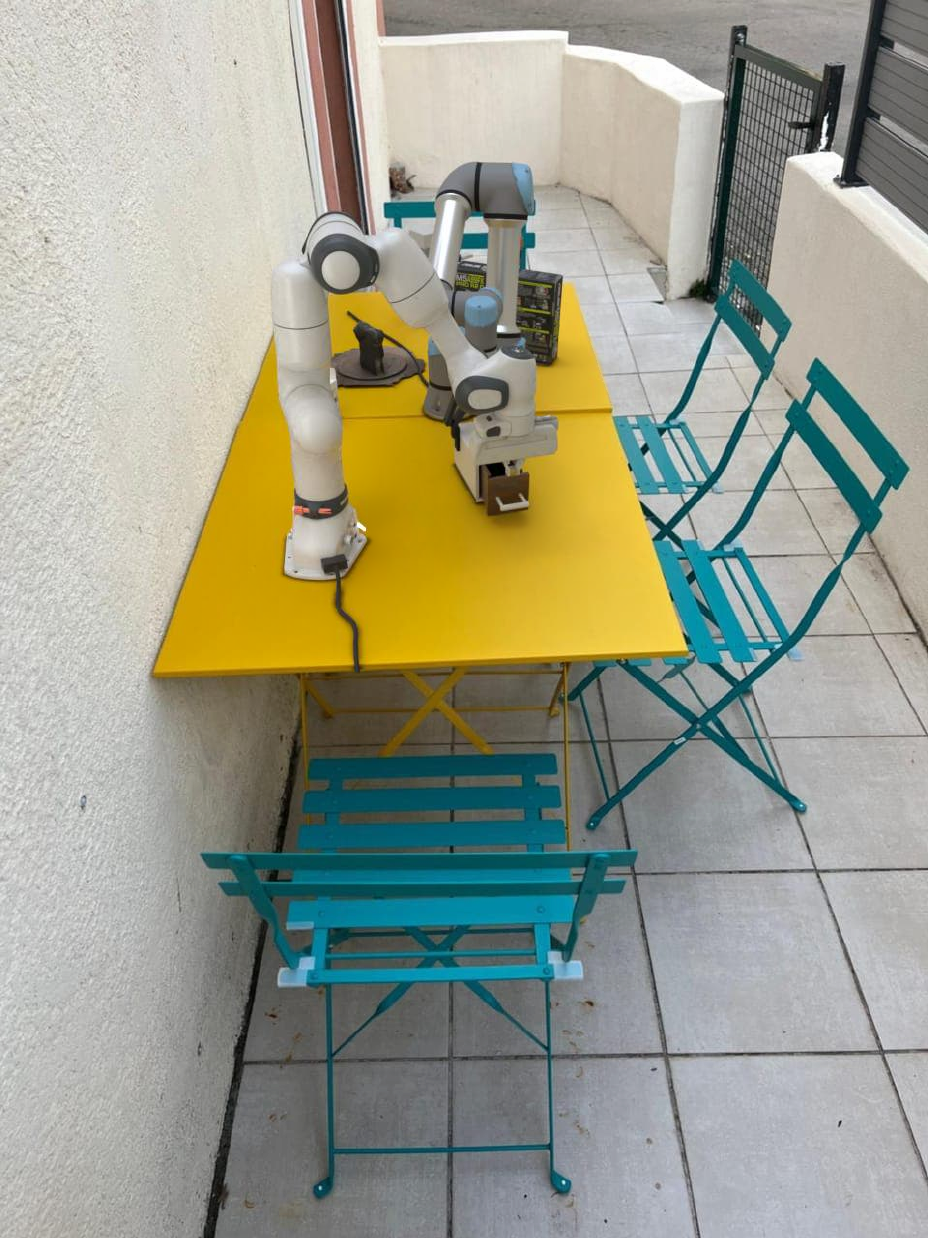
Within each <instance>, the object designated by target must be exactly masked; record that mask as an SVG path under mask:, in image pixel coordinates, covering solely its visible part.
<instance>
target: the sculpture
mask: <svg viewBox="0 0 928 1238" xmlns="http://www.w3.org/2000/svg"><path fill="white" fill-rule="evenodd" d="M352 332H353V335H354V337H355V338H356V340H357V342H358V347H357V348H350V349H349V350H345V351H343V352H335V353H333V355H332V358H331V362H330V368H334V369H335V372H336V379H337V387H339V386H340V385H342V386H344V387H346V386H355V385H358V386H359V385H360V386H362V385H363V386H371V385H372V386H376V385H378V386H379V385H388V386H391V385H392V386H394V387H396V386H395V385H394V384H395V383H399V382H400V380H401V379H403V378H407V377H411V376H412V375H414V374H416V373H417V374H418V369H417V366H416V364H415V362H414V361H413V359H412V357H411V356H410V355H409V353H407V352H406V351H405V350H404V349H403V348H401V347H396V346H389V345H387V346H386V345H383V342H384V333H385V332H384V331H383V330H382V329H381V328H376V327H374V326H373V325H371V324H369V323H368V322H366V321H363V320H361V321H359V322H358V321H357V324H355V326H353V329H352ZM407 350H408V351H409V352H410V353H411V354H412V355H413V356H414V358H415V359H416V361H417V363H418V365H419V368H420V371H421V372H422V371H424V370H426V362H425V360H424V359H423V358H417V357H416V356H415V355H414V352H413V351H412V350H409V349H407ZM393 383H394V384H393Z"/></svg>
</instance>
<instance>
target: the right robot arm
mask: <svg viewBox="0 0 928 1238" xmlns="http://www.w3.org/2000/svg"><path fill="white" fill-rule="evenodd" d="M433 208H434V209H433V210H434V213H435V219H434V220H435V221H434V225H433V226H434V231H433V236H432V241H431V247H430V252H429V257H428V259H429V261H430V262H431V264H432V266H433V267H434V269H435V271H436V272H437V274H438V276H439V278H440V280H441V282H442V284H443V286H444V289H445V291H446V294H447V297H448V300H449V304H448V307H449V310H450V312H451V314H452V316H453V318H454V319H455V321H456V322H457V324H465V328H464V327H461V326H459V327H460V329H461V330H462V332H463V333H464V335H465V336H466V338H467V339H468V340H469V341H470V342H471V343H473V344H474V345H476V346H477V347H479V348H480V349H482V350H483V351H484V352H485V353H486V354H487V355H488V357H489V358H490V357H491V356H493V355H494V354H496V353H497V352H498V351H499V350H500V348H501V347H503V346H508V345H515V346H520V347H523V348H525V343H526V340H525V339H524V338H523V337H520V336H521V330H520V329H519V328H518V327H517V326H516V310H517V293H518V275H519V268H520V265H519V258H520V241H521V234H522V229H523V228H524V226H525V225H526V224H527V223H528V220H529V219H528V218H529V215H533V214H534V212H535V192H534V179H533V172H532V169H531V167H530V166H529V165H528V164H525V163H519V162H518V163H517V162H514V161H513V162H493V161H492V162H491V161H489V162H488V161H468V162H466V163H463V164H461V165H459V166H457V168H455V169H454V170H453V171H451V172H450V173H449V174H448V175H447V176H446V177H445V179H444V180H443V182H442V183H441V185H440V186H439V188H438V190H437V193H436V195H435V200H434V205H433ZM473 212H476V213H482V220H483V222H484V223H485V224H486V225H487V227H488V233H487V234H488V235H487V251H486V252H487V253H486V264H487V274H486V287H484V288H482V289H480V290H479V291H478V292H468V291H454V285H455V279H456V273H457V267H458V264H459V263H460V262H459V256H460V254H461V249H462V244H463V239H464V238H463V237H464V233H465V226H466V222H467V221H468V220H469V219H470V217H471V214H472V213H473ZM458 262H459V263H458ZM346 314H348V315H349V316H350V317H351V318H352V319H354V320H355V321H356V322H357V323H358V322H359V321H362V319H360V318H358V317H357V316H355V315H354V314H353V313H352V312H351V311H350V310H347V311H346ZM383 333H384V337H385V338H386V339H388V340H390V341H391V342H393V343H394V344H396V345H397V346H398V347H399V348H403V349H404V350H405V351H406V352H407V353H409V355H410V356H411V357H412V359H413V361H414V362H415V364H416V366H417V369H418V373H417V374H418V376H419V377H420V379H421V380H422V382H423V384H425V386H426V387H428V388H427V390H426V394H425V397H424V401H423V412H424V414H425V415H426V416H427V417H428V418H430V419H433V420H435V421H439V422H443V423H444V425H445V427H447V428H448V427H450V437H451V438H452V439H453V440H454V439H455V448H456V450H457V452H458V451H460V427H459V425H458V424H461V422H462V421H464V420H466V419H469V418H471V417H472V416H473V415H472V414H468V413H466V412H464V411H462V410H461V409H460V408H459V407H458V405H457V403H456V400H455V397H454V394H453V391H452V387H451V384H450V381H449V379H448V377H447V374H446V367H445V359H444V357H443V355H442V353H441V352H440V350H439V349H438V347H437V346H436V344H435V343H434V341H433V340H432V338H431V337H430V336H429V337H428V340H427V364H428V380H426V378H425V377H424V375H423V373H422V371H420V368H419V365H418V363H417V361H416V359H415V358H416V357H415V355H414V356H413V355H412V354H411V353H410V352H411V351H408V350H409V349H408V348H407V347H405V346H404V345H403V344H402V343H401V342H399V341H398V340H396V339H394V338H393V337H391V336H390V335H388V334H386V333H385V332H383ZM414 357H415V358H414Z"/></svg>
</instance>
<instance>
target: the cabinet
mask: <svg viewBox="0 0 928 1238" xmlns="http://www.w3.org/2000/svg"><path fill="white" fill-rule="evenodd" d="M458 425H459V427H460V451H458V452H457V450H456V448H455V439H453V446H454V447H453V448H454V449H453V450H454V451H453V453H454V454H453V455H454V457H453V458H454V467H455V469H456V470H457V472H458V474H459V476H460V478H461V479H462V481H463V483H464V485H465V487H466V489H467V490H468V492H469V494H470V496H471V497H472V499H473V501H474V502H475V503H479V502H484V501H483V499H482V497H481V496H480V494H479V465H477V466H476V465H474V464H473V463H472V461H471V460H470V458H469V443H470V436H471V433H472V431H473V430H474V429H475V426H474V421H468V422H460V423H459V424H458ZM517 461H518V460H516V462H517Z"/></svg>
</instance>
